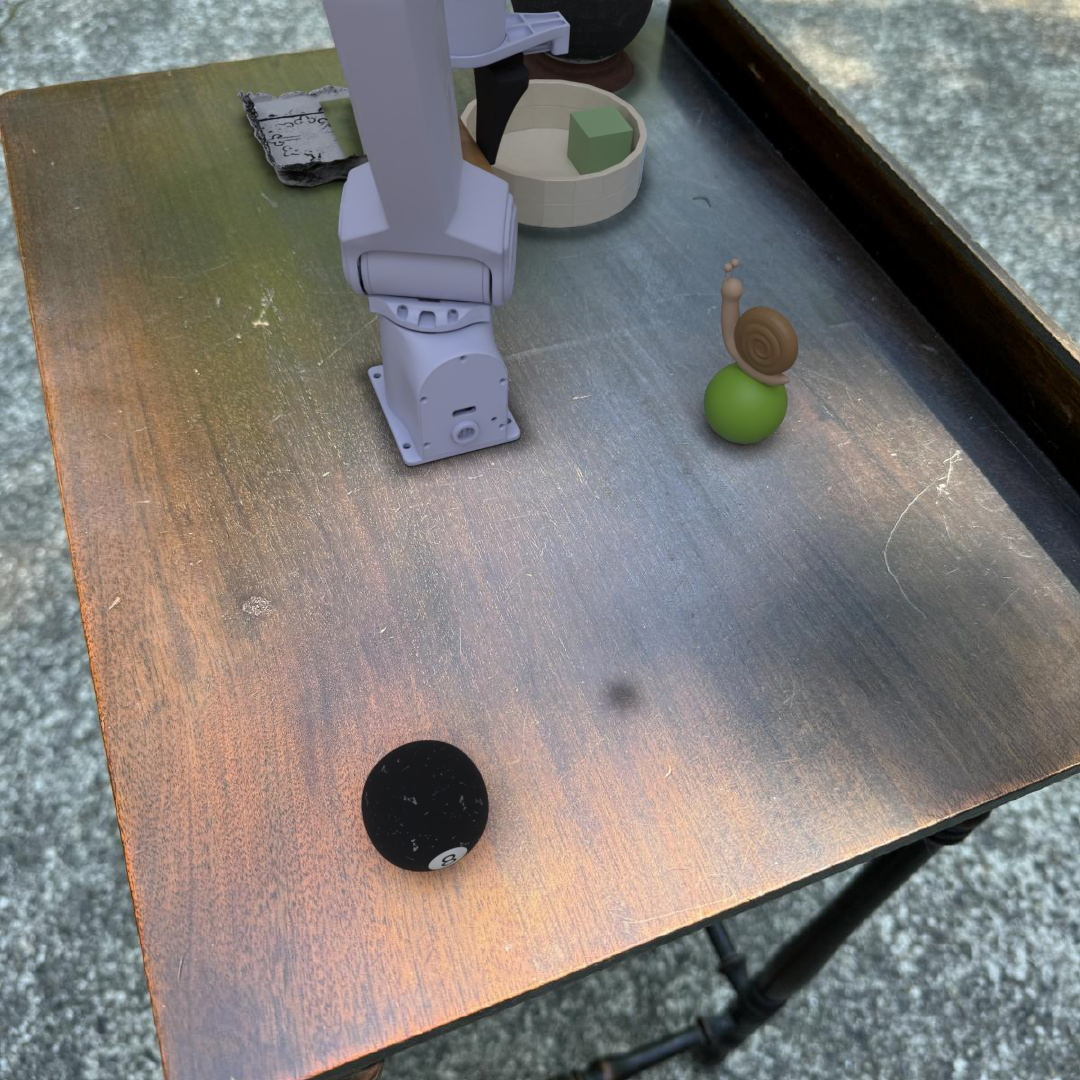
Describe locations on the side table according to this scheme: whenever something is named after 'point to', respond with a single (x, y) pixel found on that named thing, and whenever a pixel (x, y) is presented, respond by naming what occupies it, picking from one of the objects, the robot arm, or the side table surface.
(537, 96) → the bowl
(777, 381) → the snail figurine
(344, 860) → the side table surface
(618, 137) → the green block
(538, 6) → the snow globe
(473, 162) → the brown wooden cylinder
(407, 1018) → the side table surface
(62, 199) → the side table surface
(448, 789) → the billiard ball
